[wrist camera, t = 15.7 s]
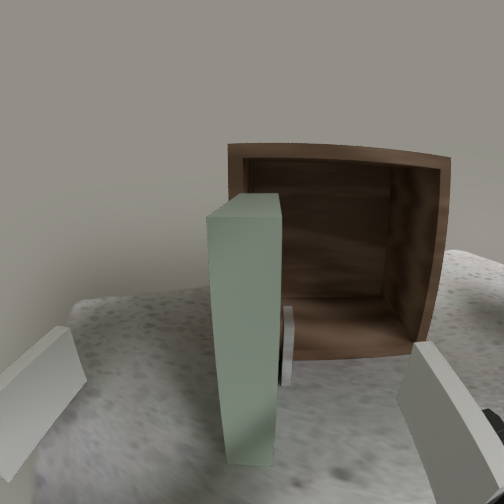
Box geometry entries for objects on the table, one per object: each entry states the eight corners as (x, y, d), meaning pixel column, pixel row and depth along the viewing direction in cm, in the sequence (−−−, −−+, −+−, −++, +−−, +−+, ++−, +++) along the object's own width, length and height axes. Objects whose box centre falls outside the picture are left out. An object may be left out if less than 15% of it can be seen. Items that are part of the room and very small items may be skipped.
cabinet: (243, 300, 42) (241, 153, 37) (384, 300, 41) (395, 159, 35) (224, 383, 25) (212, 139, 19) (436, 373, 23) (475, 157, 18)
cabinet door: (243, 364, 28) (239, 193, 24) (275, 365, 28) (278, 193, 23) (227, 464, 16) (206, 217, 12) (272, 466, 16) (282, 217, 12)
